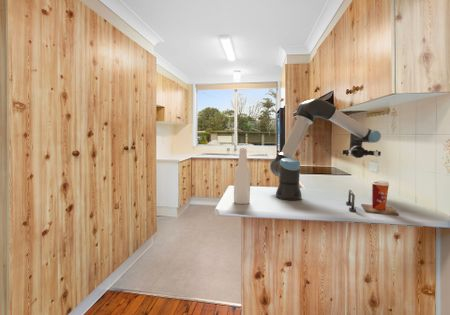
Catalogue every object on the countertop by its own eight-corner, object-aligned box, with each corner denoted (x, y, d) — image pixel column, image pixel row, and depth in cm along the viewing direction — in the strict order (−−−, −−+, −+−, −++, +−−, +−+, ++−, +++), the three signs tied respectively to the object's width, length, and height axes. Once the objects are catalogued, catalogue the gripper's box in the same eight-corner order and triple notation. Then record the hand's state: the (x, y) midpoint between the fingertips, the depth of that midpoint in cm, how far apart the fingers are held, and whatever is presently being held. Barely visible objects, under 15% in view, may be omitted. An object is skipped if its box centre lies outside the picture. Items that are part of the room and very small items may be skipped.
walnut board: (365, 212, 125) (365, 210, 125) (361, 205, 138) (361, 203, 138) (398, 215, 121) (398, 213, 121) (390, 208, 133) (391, 206, 133)
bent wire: (349, 211, 126) (350, 194, 125) (345, 203, 141) (346, 188, 140) (356, 212, 125) (357, 195, 124) (351, 204, 140) (352, 189, 139)
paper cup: (380, 211, 124) (382, 183, 123) (366, 207, 131) (368, 180, 130) (391, 209, 127) (393, 182, 125) (377, 205, 134) (379, 179, 133)
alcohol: (249, 200, 143) (251, 147, 141) (249, 204, 134) (251, 148, 132) (234, 200, 144) (235, 147, 141) (233, 204, 135) (234, 148, 133)
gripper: (379, 158, 160) (388, 161, 140) (336, 156, 168) (339, 159, 148) (380, 146, 159) (389, 147, 139) (337, 145, 168) (340, 146, 148)
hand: (363, 153), depth 144 cm, fingers open, 13 cm apart
